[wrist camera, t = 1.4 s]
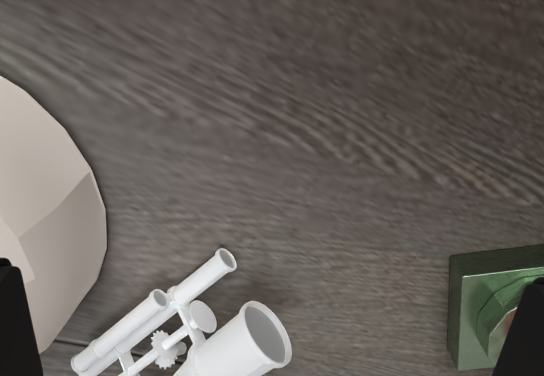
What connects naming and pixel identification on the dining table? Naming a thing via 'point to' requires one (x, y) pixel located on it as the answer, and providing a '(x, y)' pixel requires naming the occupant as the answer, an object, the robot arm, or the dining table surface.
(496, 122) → the dining table surface
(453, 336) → the switch block
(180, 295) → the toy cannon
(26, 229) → the kettle
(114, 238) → the dining table surface
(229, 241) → the dining table surface
